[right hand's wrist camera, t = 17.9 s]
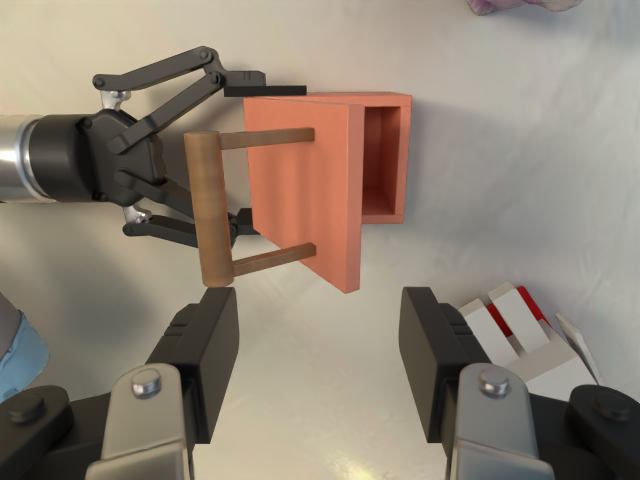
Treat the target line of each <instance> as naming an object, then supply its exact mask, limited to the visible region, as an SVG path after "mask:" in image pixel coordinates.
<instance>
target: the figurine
mask: <svg viewBox="0 0 640 480" xmlns="http://www.w3.org/2000/svg"><path fill="white" fill-rule="evenodd" d="M467 1H468V3H469V5H470V7H471V9H472V10H473V12H474V13H476V14H477V15H480V14H481V15H485V14H488V13H489V12H490V13H491V12H492V11H493V12H494V11H496V10H497V9H498V10H499V9H502V8H504V9H509V8H514V7H517V6H520V5H522V4H524V3H528V4H537V5H540V6H542V7H544V8H546V9H548V10H550V11H553V12H561V11H565V10H568V9H570V8H572V7H575V6H577V5H579V4H580V3H581V2H582V1H583V0H467Z"/></svg>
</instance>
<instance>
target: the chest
mask: <svg viewBox="0 0 640 480" xmlns="http://www.w3.org/2000/svg"><path fill="white" fill-rule="evenodd" d="M254 97H259V98H274V99H290V100H306V101H322V102H338V103H354V104H364V105H365V114H364V150H363V185H362V221H361V224H400V223H403V220H404V215H403V214H404V206H405V192H406V177H407V163H408V148H409V134H410V119H411V105H412V95H407V94H401V93H394V92H324V93H307V95H306V96H254Z"/></svg>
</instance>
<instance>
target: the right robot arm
mask: <svg viewBox="0 0 640 480" xmlns="http://www.w3.org/2000/svg"><path fill="white" fill-rule="evenodd" d="M399 348H400V353H401V357H402V360H403V363H404V367H405V370H406V373H407V377H408V380H409V383H410V387H411V390H412V393H413V397H414V400H415V403H416V407H417V410H418V413H419V417H420V420H421V423H422V427H423V430H424V433H425V437H426V440H427V443H442V445H443V448H444V451H445V454H446V457H447V461H446V468H445V480H640V403H638V402H637V401H635V400H634V399H632V398H631V397H629V396H627V395H626V394H623V393H621V392H619V391H617V390H614V389H612V388H608V387H605V386H600V385H594V384H585V385H579V386H577V387H575V388H574V389H573V390H572V391H571V394H570V397H569V401H563V400H559V399H554V398H550V397H545V396H541V395H537V394H533V393H530V392H529V391H528V388H527V386H526V384H525V383H524V381H523V380H522V379H521V378H520V377H519V376H517V375H516V374H515V373H513V372H512V371H510V370H508V369H506V368H504V367H501V366H498V365H494V364H492V362H491V361H490V359H489V357H488V356H487V354H486V353H485V351H484V349H483V348H482V346H481V344H480V343H479V341H478V340H477V338H476V336H475V335H473V331H472V330H471V328H470V327H469V326H468V323H467V322H466V320H465V319H464V317H463V315H462V314H461V312H459V311H458V310H457V309H455V308H454V307H452V306H451V305H450V304H448V303H438V301H437V300H436V298H435V296H434V294H433V292H432V290H431V289H430V287H404V288H403V291H402V299H401V311H400V323H399ZM238 349H239V323H238V311H237V299H236V291H235V288H234V287H209V288H208V289H207V290H206V292H205V294H204V296H203V298H202V299H201V301H200V303H199V304H189V305H187V306H186V307H184V308H183V309H182V310H180V311H179V312H178V313H177V314H176V315H175V317H174V318H173V320H172V321H171V323H170V326H168V328H167V329H166V331H165V333H164V336H162V337H161V339H160V341H159V342H158V344H157V345H156V347H155V349H154V350H153V352H152V353H151V355H150V357H149V358H148V360H147V361H146V363H145V365H142V366H139V367H136V368H134V369H132V370H130V371H128V372H127V373H125V374H124V375H123V376H121V377H120V378H119V379H118V380H117V381H116V383H115V384H114V386H113V388H112V391H111V392H109V393H106V394H103V395H99V396H95V397H90V398H86V399H81V400H77V401H72V402H70V400H69V397H68V394H67V392H66V390H65V389H63V388H61V387H58V386H52V385H49V386H39V387H34V388H31V389H28V390H25V391H22V392H20V393H18V394H15V395H13V396H12V397H10V398H8V399H6V400H5V401H3V402H2V403H0V480H195V468H194V461H193V455H192V452H193V449H194V446H195V444H210V442H211V439H212V435H213V432H214V429H215V425H216V422H217V419H218V416H219V412H220V409H221V406H222V403H223V399H224V396H225V393H226V390H227V386H228V383H229V380H230V377H231V373H232V370H233V367H234V363H235V360H236V357H237V354H238Z"/></svg>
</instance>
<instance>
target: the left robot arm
mask: <svg viewBox="0 0 640 480" xmlns="http://www.w3.org/2000/svg"><path fill="white" fill-rule="evenodd" d="M201 68H203V69H204V71H205V73H206V75H205V76H204V77H203V78H201V79H200V80H198V81H197V82H195V83H194V84H193V85H191V86H190V87H188V88H187V89H185V90H184V91H183V92H181V93H180V94H178V95H177V96H175V97H174V98H173V99H171V100H170V101H168V102H167V103H165V104H164V105H163V106H161V107H160V108H158V109H157V110H155V111H154V112H153V113H151V114H150V115H148V116H146V117H144V118H142V119H141V120H139V121H138V120H137V119H135V118H134V117H132V116H131V115H129V114H127V113H126V112H124V111H123V110H121V109H120V105H121V103H122V102H123V101H127V100H129V99H130V97H131V91H135V90H141V89H145V88H148V87H150V86H153V85H156V84H159V83H162V82H165V81H167V80H170V79H173V78H176V77H179V76H182V75H184V74H187V73H190V72H193V71H196V70H198V69H201ZM93 85H94V86H95V88H96V89H98V90H100V91H101V97H102V104H103V109H102V110H101V111H99V112H98V113H96V114H73V115H47V116H42V115H0V203H53V202H57V201H58V202H112V203H115V204H117V205H119V206H122V207H123V210H124V214H125V218H126V222H127V224H126V225H124V226H123V232H124V234H125V235H127V236H147V235H149V236H153V237H157V238H161V239H165V240H169V241H173V242H176V243H180V244H184V245H188V246H192V247H196V248H198V242H197V234H196V227H195V224H192V223H188V222H184V221H181V220H177V219H173V218H169V217H166V216H161V215H152V213H151V211H149V210H145V209H142V208H140V207H139V206H138V203H137V202H139V201H140V200H141V199H142V198H144V197H147V198H149V199H151V200H153V201H155V202H157V203H163V204H166V205H168V206H170V207H172V208H174V209H175V210H177V211H179V212H181V213H183V214H185V215H187V216H189V217H191V218H193V219H194V212H193V204H192V197H191V192H189V191H188V190H186V189H184V188H182V187H180V186H178V185H177V183H176V182H174V181H173V180H171V179H169V178H167V177H165V174H167V171H166V165H165V163H164V160H163V158H162V151H163V145H162V139H159V137H158V135H157V133H159V132H160V131H162V130H163V129H165V128H166V127H168V126H169V125H170V124H171V123H172V122H174V121H175V120H177V119H178V118H180V117H181V116H183V115H184V114H186V113H187V112H188V111H190V110H191V109H193V108H194V107H196V106H197V105H199V104H200V103H202V102H203V101H205V100H206V99H207V98H209V97H210V96H212V95H213V94H215V93H216V92H218V91H219V90H221V89H222V88H223V87H224V97H254V96H306V95H307V87H306V85H305V86H266V76H265V73H262V72H260V71H227V70H225V69H224V68H223V66H222V65H221V62H220V60H219V56H218V53H217V51H216V50H214V49H212V48H209V47H205V46H200V47H197V48H195V49H192V50H189V51H186V52H184V53H181V54H178V55H175V56H172V57H170V58H167V59H164V60H161V61H159V62H156V63H153V64H150V65H148V66H145V67H142V68H139V69H136V70H134V71H131V72H128V73H125V74H123V75H105V74H98V75H95V76H94V77H93ZM227 213H228V223H229V232H230V242H231V249H232V248H233V246H234V244H235V242H236V237H237V236H239V235H256V234H257V235H260V233H259V232H257V231H256V230H255V229H254V228H253V216H252V208H241V209H240V211H239V212H238V214H237V216H235V215H233V214H231V213H230V212H228V211H227ZM261 235H262V234H261ZM49 356H50V351H49V348H48V346H47V344H46V343H45V342H44V341H43V339H42V338H41V337H40V336H39V334H38V333H37V332H36V330H35V329H34V328H33V327H32V325H31V324H30V323H29V321H28V320H27V319H26V316H25V315H24V313H23V312H21V311H20V310H17V309H16V308H15V307H14V306H13V305H12V304H11V303H10V302H9V301H8V300H7V299H6V298H5V297H4V295H3V294H2V293H1V292H0V403H2V402H3V401H5V400H6V399H8V398H10V397H12V396H13V395H15V394H17V393H19V392H20V391H22V390H23V389H25V388H26V387H27V386H28V385H29V384H30V383H31V382H32V381H33V380H34V379H35V378H36V377H37V376H38V375H39V374H40V373H41V372H42V370H43V369H44V368H45V366H46V365H47V363H48V360H49Z"/></svg>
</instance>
